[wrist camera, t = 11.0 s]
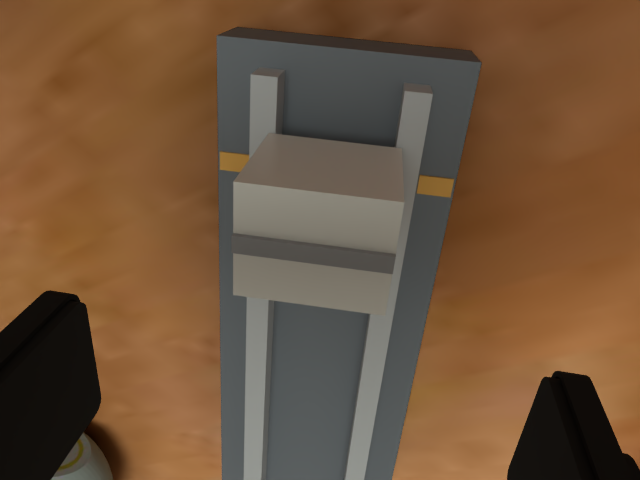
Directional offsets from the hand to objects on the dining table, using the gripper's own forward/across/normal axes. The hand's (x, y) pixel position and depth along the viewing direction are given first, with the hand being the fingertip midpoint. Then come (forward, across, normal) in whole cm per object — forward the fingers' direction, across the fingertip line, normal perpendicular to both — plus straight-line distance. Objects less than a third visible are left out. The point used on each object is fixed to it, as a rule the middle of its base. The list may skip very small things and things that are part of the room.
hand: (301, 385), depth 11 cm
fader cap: (+12, +1, 0) cm, 12 cm away
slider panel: (+16, +1, +8) cm, 18 cm away
